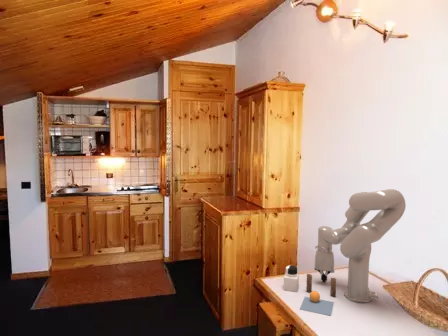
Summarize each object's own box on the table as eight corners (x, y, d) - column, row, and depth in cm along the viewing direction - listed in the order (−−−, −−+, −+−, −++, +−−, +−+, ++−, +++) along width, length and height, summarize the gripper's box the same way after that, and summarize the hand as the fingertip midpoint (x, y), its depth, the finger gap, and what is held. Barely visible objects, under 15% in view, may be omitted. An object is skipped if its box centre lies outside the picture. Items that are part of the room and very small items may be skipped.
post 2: (336, 295, 165) (336, 278, 165) (335, 297, 163) (336, 280, 162) (330, 294, 166) (331, 277, 166) (330, 296, 164) (330, 279, 163)
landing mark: (333, 302, 158) (333, 301, 158) (330, 315, 145) (330, 315, 145) (304, 296, 163) (304, 296, 163) (299, 309, 151) (299, 309, 151)
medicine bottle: (298, 286, 175) (299, 265, 175) (297, 292, 169) (297, 269, 168) (285, 284, 178) (285, 263, 177) (283, 290, 171) (283, 268, 170)
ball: (318, 300, 154) (319, 305, 157) (320, 290, 157) (321, 295, 160) (307, 297, 157) (309, 302, 160) (310, 287, 160) (311, 292, 163)
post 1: (311, 291, 170) (312, 274, 170) (311, 293, 168) (311, 276, 167) (306, 290, 171) (307, 273, 171) (306, 292, 169) (306, 275, 168)
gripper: (309, 249, 177) (309, 281, 178) (338, 253, 171) (337, 286, 172) (312, 245, 184) (311, 276, 185) (339, 249, 178) (338, 281, 179)
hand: (324, 281), depth 179 cm, fingers closed
